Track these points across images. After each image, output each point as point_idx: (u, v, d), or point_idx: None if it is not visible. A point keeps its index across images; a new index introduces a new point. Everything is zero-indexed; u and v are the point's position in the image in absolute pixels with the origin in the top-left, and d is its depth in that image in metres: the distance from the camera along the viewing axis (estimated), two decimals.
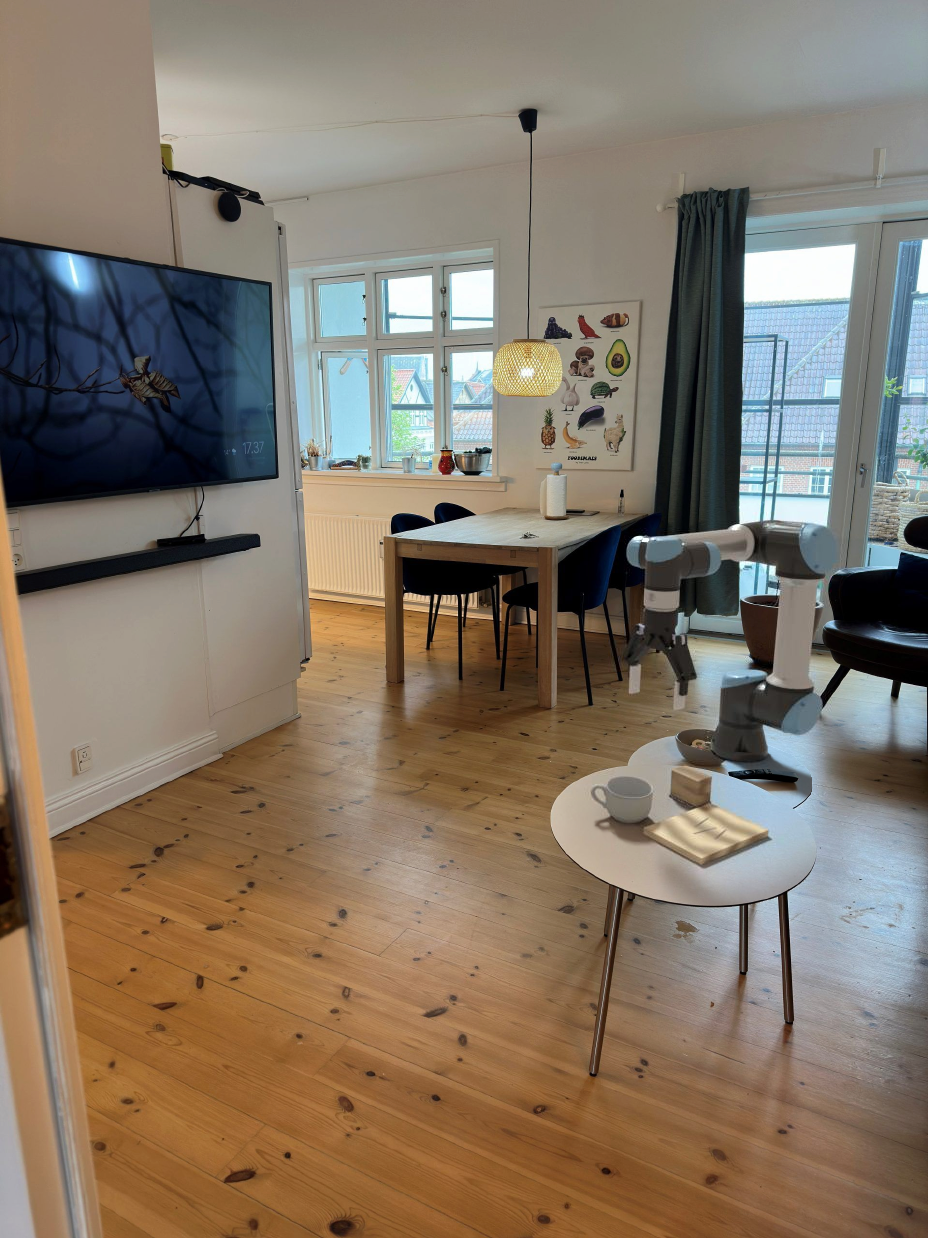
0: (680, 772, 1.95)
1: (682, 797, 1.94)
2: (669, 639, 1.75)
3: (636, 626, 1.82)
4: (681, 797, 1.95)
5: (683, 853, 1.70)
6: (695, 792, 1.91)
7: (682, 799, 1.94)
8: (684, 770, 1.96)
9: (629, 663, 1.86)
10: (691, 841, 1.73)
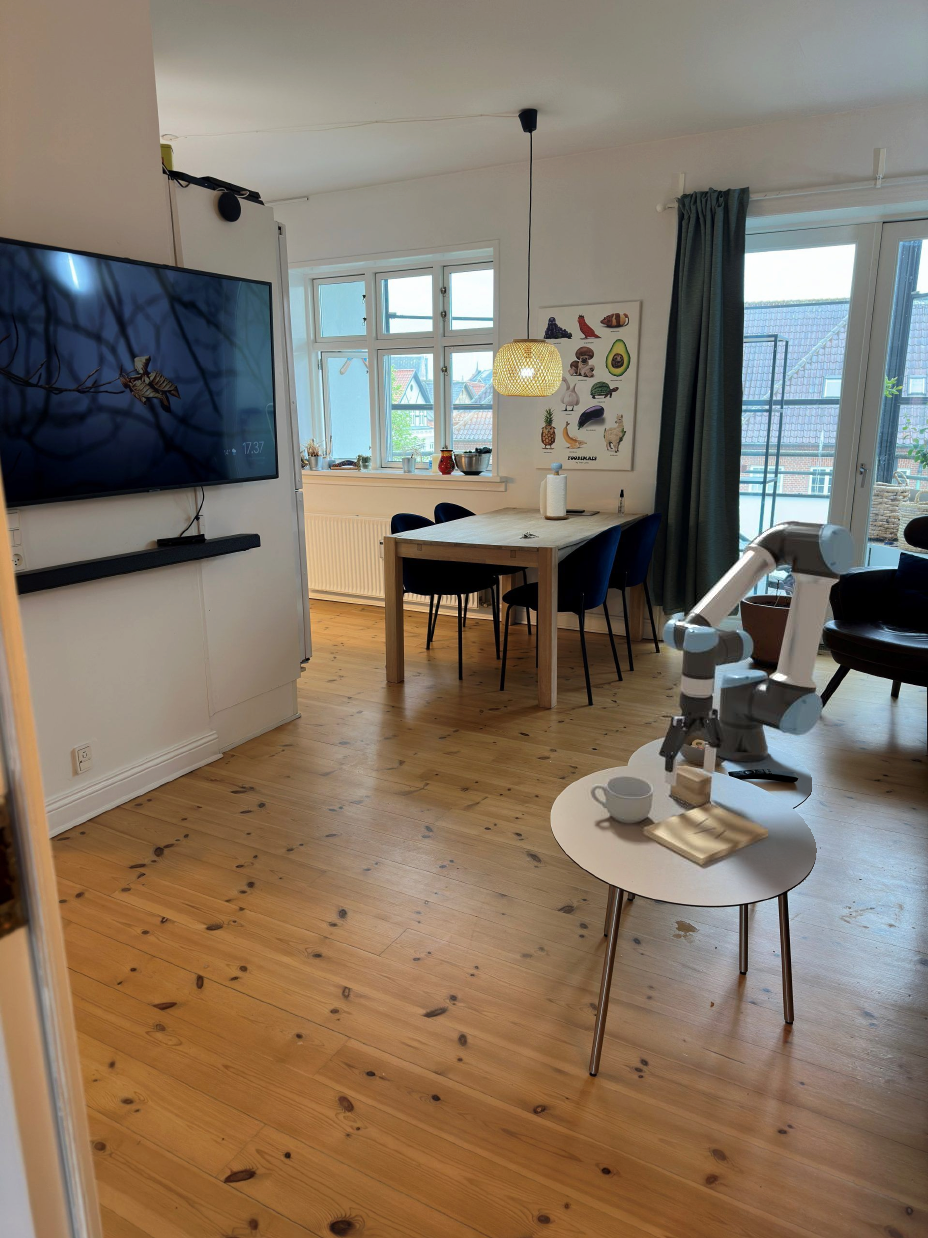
0: (680, 772, 1.95)
1: (682, 797, 1.94)
2: None
3: None
4: (681, 797, 1.95)
5: (683, 853, 1.70)
6: (695, 792, 1.91)
7: (682, 799, 1.94)
8: (683, 769, 1.96)
9: None
10: (691, 841, 1.73)
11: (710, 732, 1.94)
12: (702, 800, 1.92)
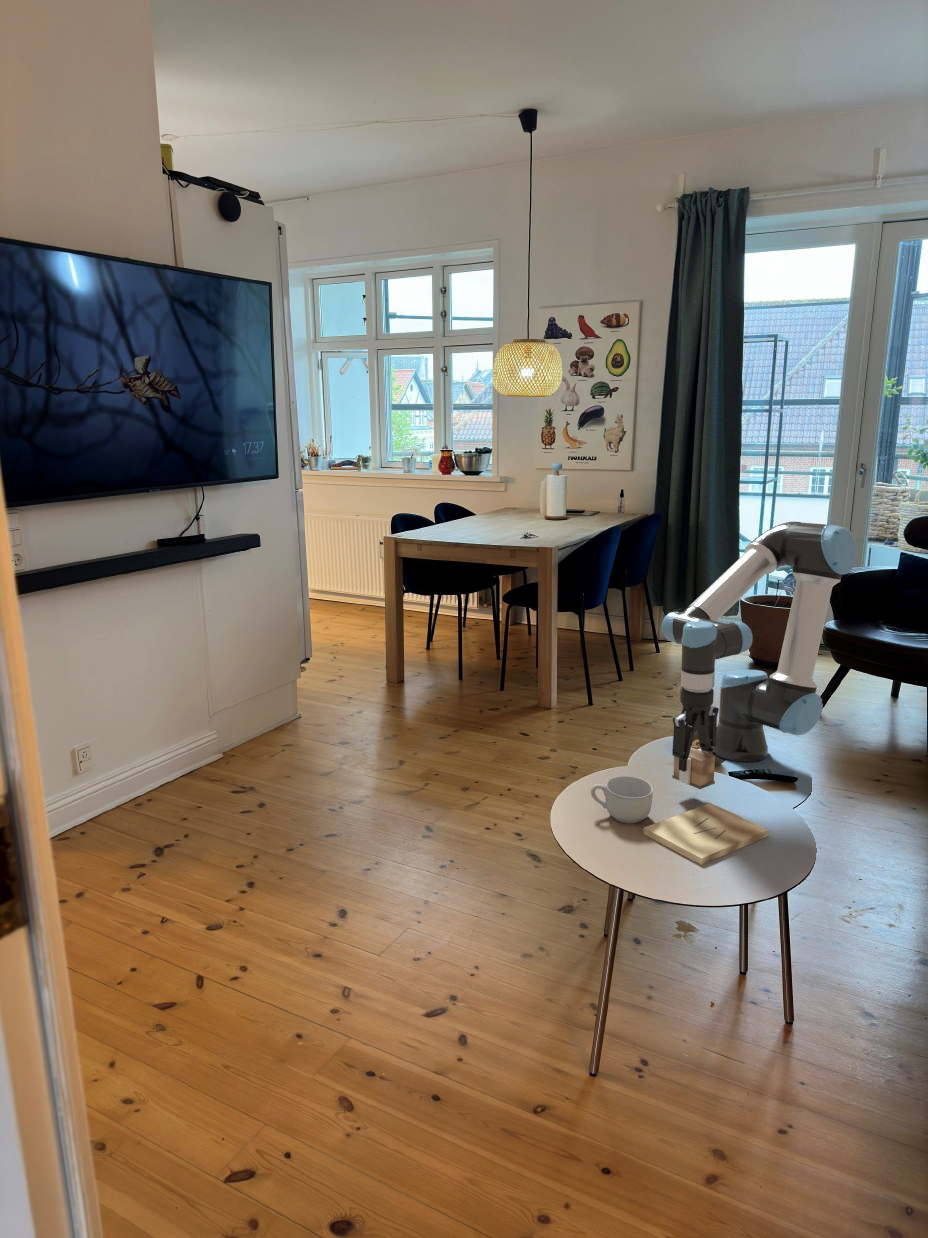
0: None
1: None
2: None
3: None
4: None
5: (683, 853, 1.70)
6: (699, 772, 1.90)
7: None
8: None
9: None
10: (691, 841, 1.73)
11: (707, 731, 1.93)
12: (706, 780, 1.91)
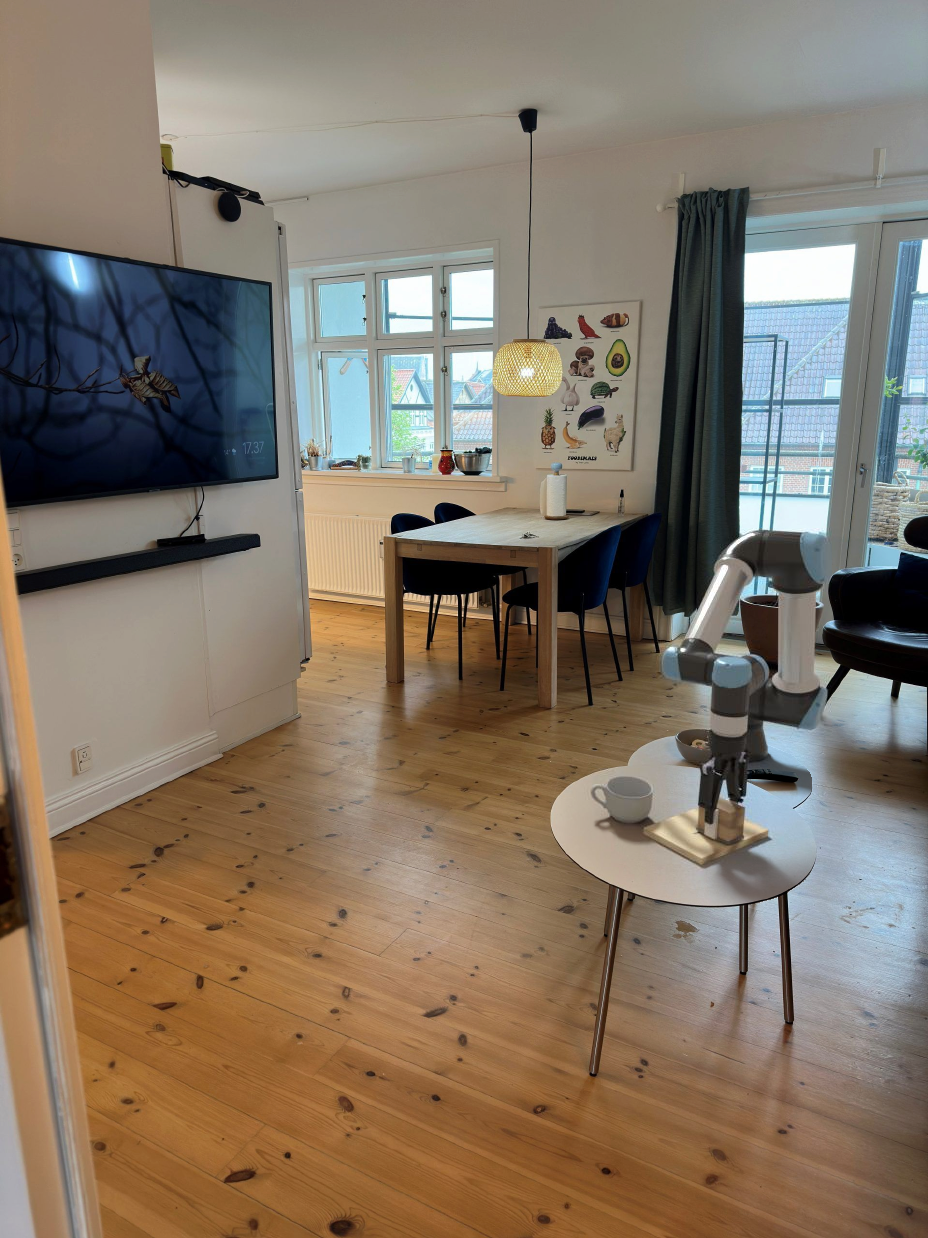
0: None
1: None
2: None
3: None
4: None
5: (683, 853, 1.70)
6: (727, 825, 1.70)
7: None
8: None
9: None
10: (691, 841, 1.73)
11: (736, 780, 1.73)
12: (734, 834, 1.71)
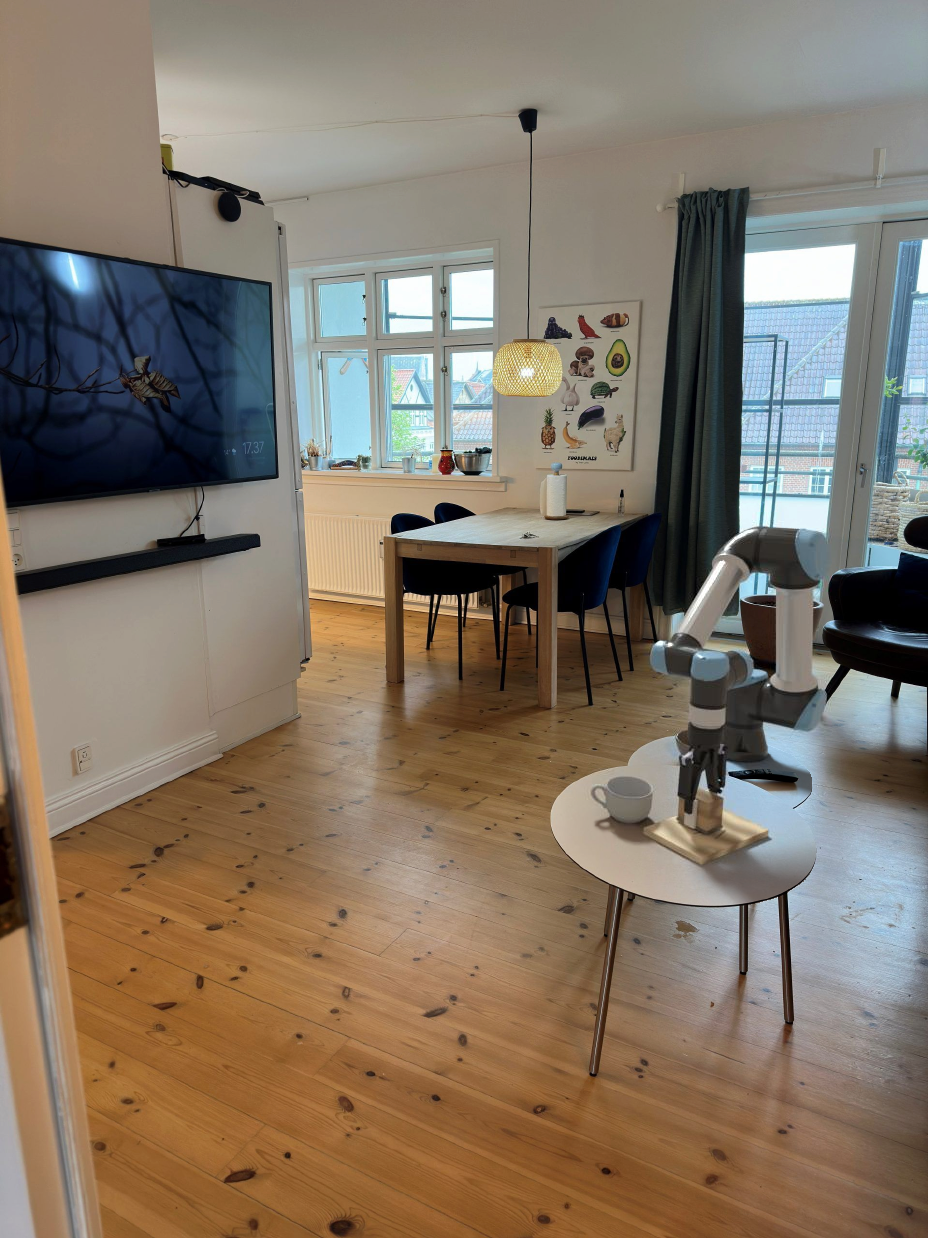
0: None
1: None
2: None
3: None
4: None
5: (683, 853, 1.70)
6: (705, 815, 1.74)
7: None
8: None
9: None
10: (691, 841, 1.73)
11: (715, 771, 1.77)
12: (713, 824, 1.76)
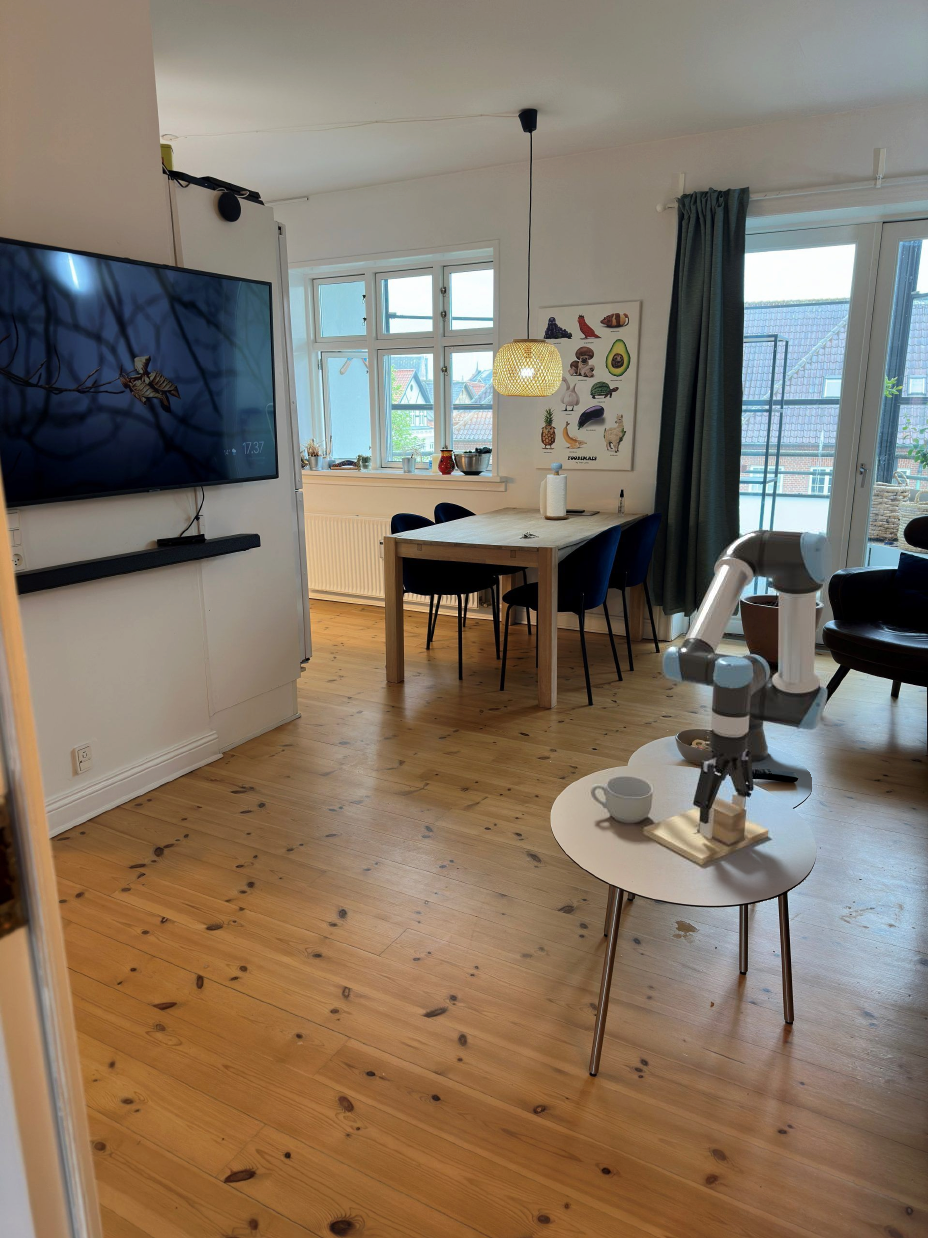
0: None
1: (713, 833, 1.73)
2: None
3: None
4: None
5: (683, 853, 1.70)
6: (728, 828, 1.70)
7: (713, 835, 1.73)
8: (714, 802, 1.75)
9: None
10: (691, 841, 1.73)
11: (741, 777, 1.73)
12: (735, 837, 1.71)
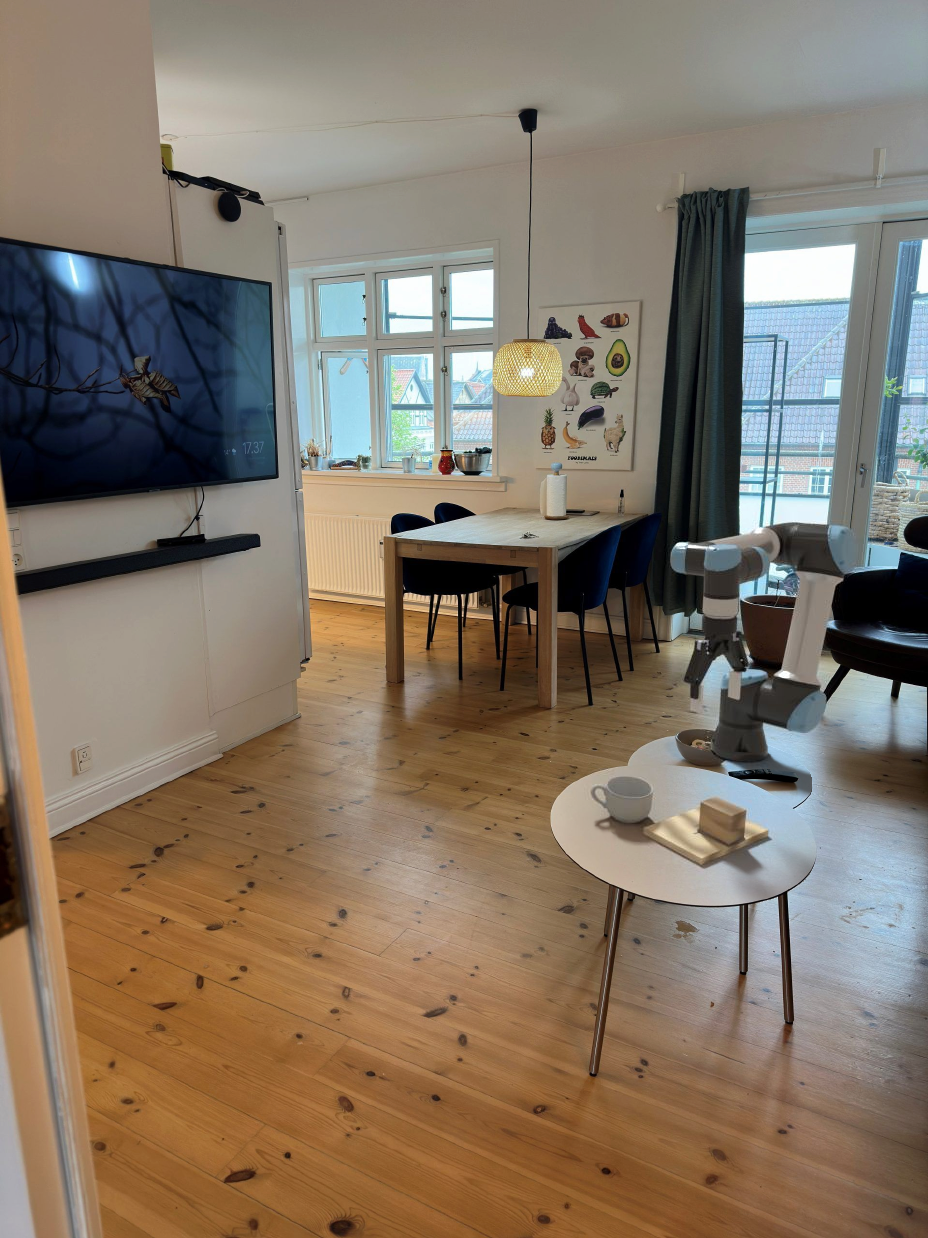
0: (710, 805, 1.74)
1: (713, 833, 1.73)
2: None
3: None
4: (711, 833, 1.74)
5: (683, 853, 1.70)
6: (728, 828, 1.70)
7: (713, 835, 1.73)
8: (714, 802, 1.75)
9: None
10: (691, 841, 1.73)
11: (735, 656, 1.85)
12: (735, 837, 1.71)
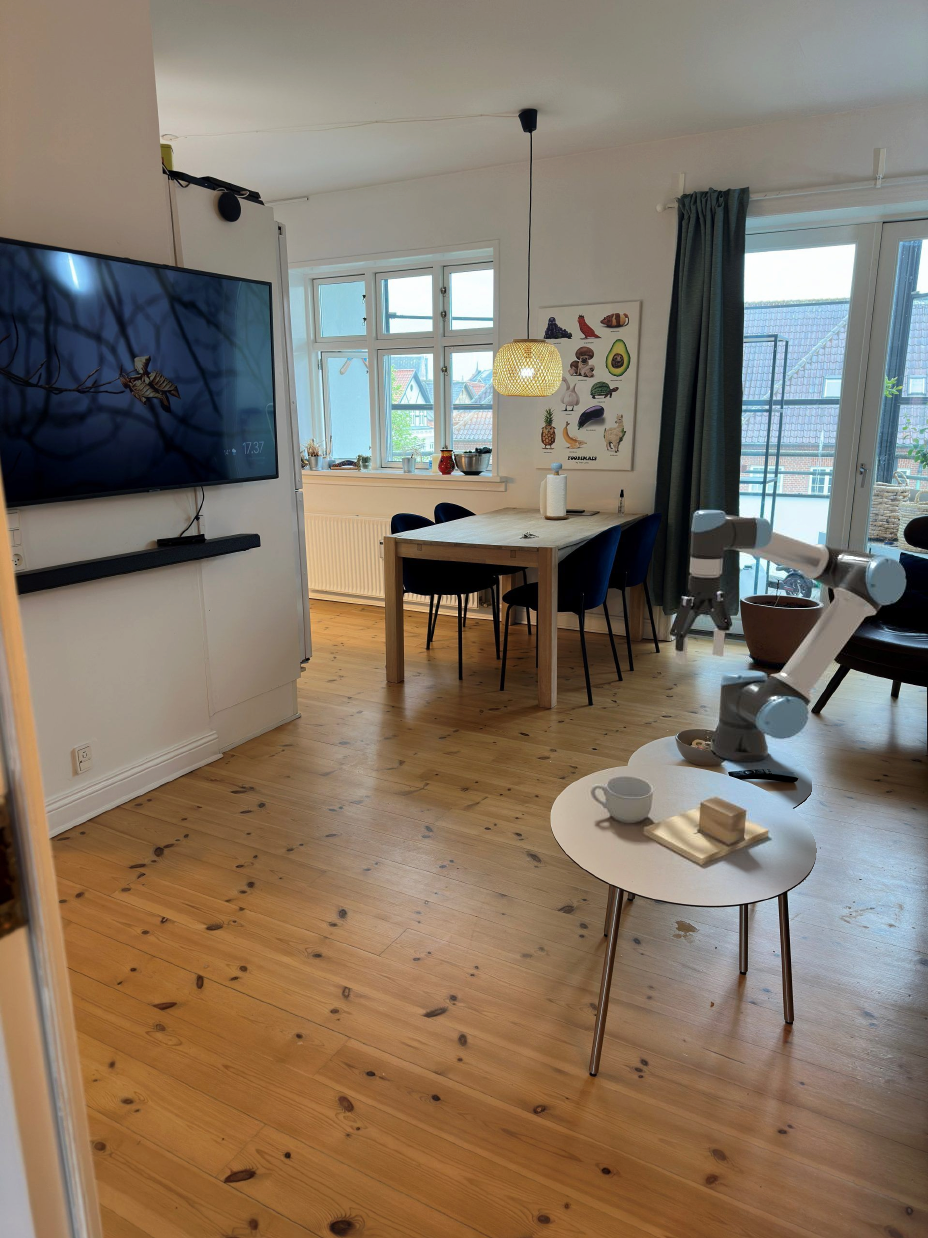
0: (710, 805, 1.74)
1: (713, 833, 1.73)
2: None
3: None
4: (711, 833, 1.74)
5: (683, 853, 1.70)
6: (728, 828, 1.70)
7: (713, 835, 1.73)
8: (714, 802, 1.75)
9: None
10: (691, 841, 1.73)
11: (719, 614, 2.00)
12: (735, 837, 1.71)
